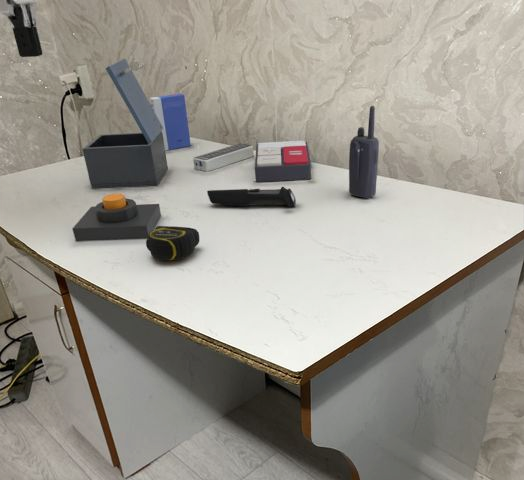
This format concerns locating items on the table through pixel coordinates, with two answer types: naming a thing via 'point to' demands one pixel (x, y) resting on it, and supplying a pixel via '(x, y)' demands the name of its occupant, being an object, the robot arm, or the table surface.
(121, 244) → the table surface
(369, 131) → the two-way radio
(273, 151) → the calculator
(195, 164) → the multiport hub
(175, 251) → the tape measure
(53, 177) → the table surface
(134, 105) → the compartment lid
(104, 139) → the compartment
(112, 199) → the button
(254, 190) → the electric trimmer
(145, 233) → the control block
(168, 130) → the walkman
